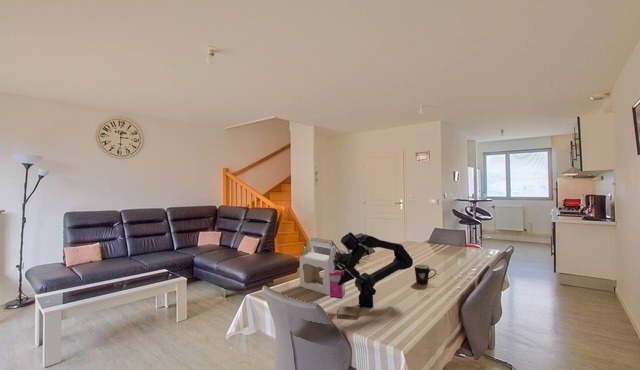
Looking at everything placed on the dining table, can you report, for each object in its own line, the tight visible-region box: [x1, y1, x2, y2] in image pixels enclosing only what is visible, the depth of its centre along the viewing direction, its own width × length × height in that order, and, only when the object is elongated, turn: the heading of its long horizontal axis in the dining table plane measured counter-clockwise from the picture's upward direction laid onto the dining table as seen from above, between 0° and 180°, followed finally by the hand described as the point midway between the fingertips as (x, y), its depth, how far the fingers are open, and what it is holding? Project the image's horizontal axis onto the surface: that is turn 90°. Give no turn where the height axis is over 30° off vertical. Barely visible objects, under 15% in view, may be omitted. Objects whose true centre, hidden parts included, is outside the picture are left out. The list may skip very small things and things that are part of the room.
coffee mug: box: [414, 264, 437, 286], centre depth 178 cm, size 12×9×10 cm
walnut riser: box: [337, 305, 360, 319], centre depth 137 cm, size 9×9×2 cm
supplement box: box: [329, 270, 346, 300], centre depth 141 cm, size 6×6×12 cm
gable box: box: [299, 237, 344, 296], centre depth 172 cm, size 22×13×28 cm, turn 50°
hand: (334, 282), depth 140 cm, fingers closed on supplement box, 8 cm apart
